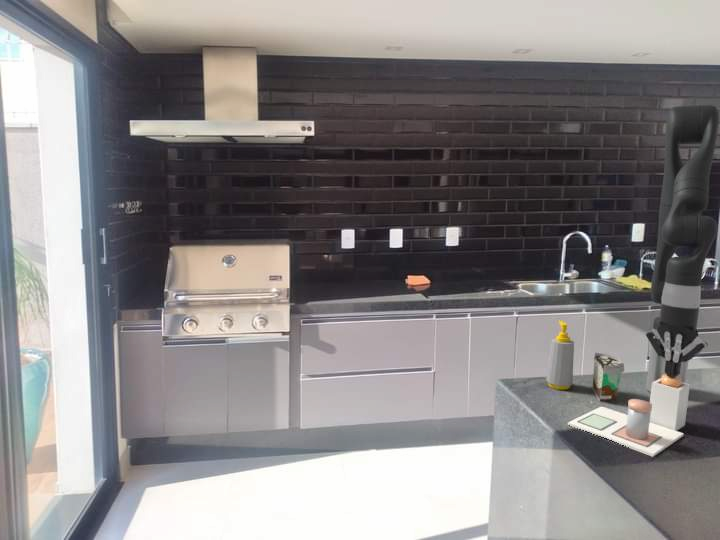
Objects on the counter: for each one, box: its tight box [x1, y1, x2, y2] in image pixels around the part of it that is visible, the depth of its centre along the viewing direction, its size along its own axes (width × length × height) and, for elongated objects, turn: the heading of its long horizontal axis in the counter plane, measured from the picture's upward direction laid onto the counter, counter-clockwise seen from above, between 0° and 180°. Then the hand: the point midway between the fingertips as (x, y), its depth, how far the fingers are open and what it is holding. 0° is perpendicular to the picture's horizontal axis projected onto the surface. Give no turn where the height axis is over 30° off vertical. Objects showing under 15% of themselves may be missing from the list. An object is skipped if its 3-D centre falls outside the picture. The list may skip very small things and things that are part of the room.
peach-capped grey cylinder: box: [626, 398, 652, 440], centre depth 123 cm, size 5×5×8 cm
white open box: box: [649, 378, 691, 431], centre depth 130 cm, size 6×6×10 cm
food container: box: [592, 352, 625, 403], centre depth 147 cm, size 12×6×10 cm, turn 168°
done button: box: [661, 374, 681, 389], centre depth 130 cm, size 4×4×2 cm
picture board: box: [567, 406, 684, 458], centre depth 127 cm, size 16×19×1 cm
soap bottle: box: [545, 320, 575, 391], centre depth 153 cm, size 7×7×18 cm
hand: (671, 376), depth 129 cm, fingers closed
